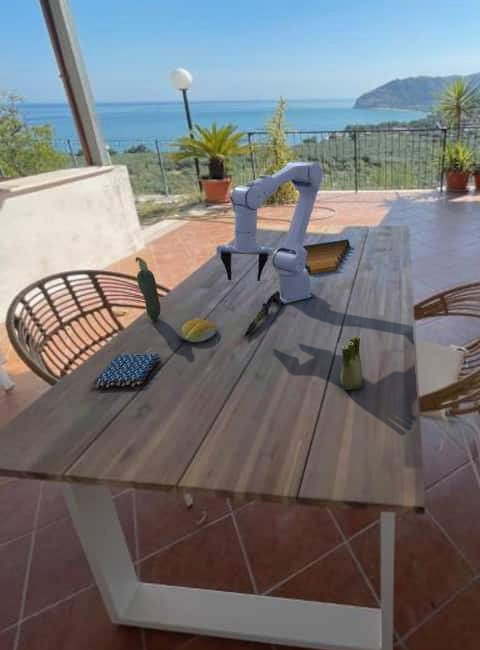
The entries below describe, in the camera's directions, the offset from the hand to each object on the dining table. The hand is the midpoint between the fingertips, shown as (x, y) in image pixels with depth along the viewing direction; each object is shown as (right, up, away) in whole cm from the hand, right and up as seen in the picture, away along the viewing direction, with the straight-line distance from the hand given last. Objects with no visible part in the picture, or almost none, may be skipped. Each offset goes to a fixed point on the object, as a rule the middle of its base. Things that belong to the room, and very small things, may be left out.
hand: (244, 279), depth 108 cm
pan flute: (+20, +5, +52) cm, 56 cm away
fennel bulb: (+30, -23, -20) cm, 43 cm away
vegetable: (-28, -13, +5) cm, 31 cm away
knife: (+4, -12, +7) cm, 14 cm away
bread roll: (-12, -15, -1) cm, 19 cm away
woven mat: (-22, -21, -16) cm, 35 cm away
